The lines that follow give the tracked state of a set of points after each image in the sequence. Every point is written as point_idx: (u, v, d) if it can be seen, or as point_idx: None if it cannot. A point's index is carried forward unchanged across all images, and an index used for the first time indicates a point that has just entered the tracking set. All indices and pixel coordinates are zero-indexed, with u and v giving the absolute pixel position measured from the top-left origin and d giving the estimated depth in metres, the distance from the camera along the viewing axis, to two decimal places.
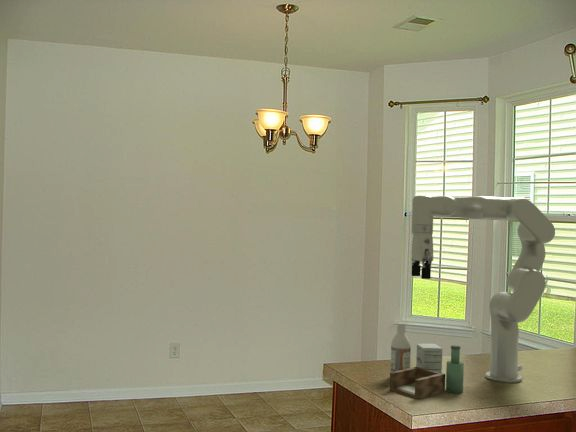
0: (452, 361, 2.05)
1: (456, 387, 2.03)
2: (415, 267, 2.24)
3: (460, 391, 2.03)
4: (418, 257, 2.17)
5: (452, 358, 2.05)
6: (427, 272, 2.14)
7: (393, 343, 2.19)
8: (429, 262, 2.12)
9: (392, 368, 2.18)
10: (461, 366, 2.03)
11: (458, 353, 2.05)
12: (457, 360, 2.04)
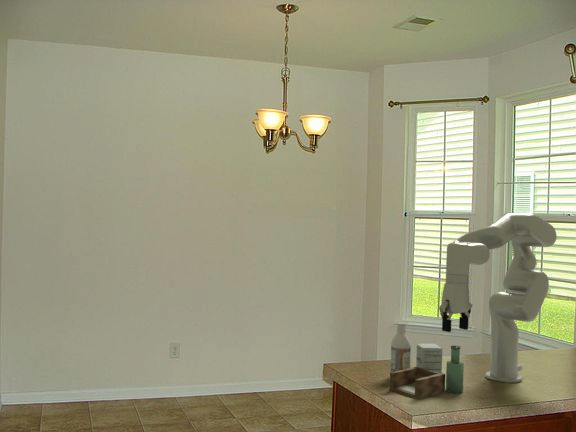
0: (452, 361, 2.05)
1: (456, 387, 2.03)
2: None
3: (460, 391, 2.03)
4: (465, 308, 2.06)
5: (452, 358, 2.05)
6: None
7: (393, 343, 2.19)
8: None
9: (392, 368, 2.18)
10: (461, 366, 2.03)
11: (458, 353, 2.05)
12: (457, 360, 2.04)
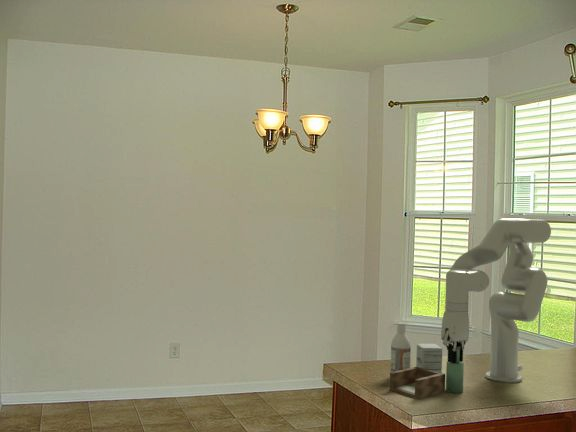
0: None
1: (456, 387, 2.03)
2: None
3: (460, 391, 2.03)
4: (465, 336, 2.06)
5: None
6: None
7: (393, 343, 2.19)
8: None
9: (392, 368, 2.18)
10: (461, 366, 2.03)
11: (458, 353, 2.05)
12: (457, 360, 2.05)
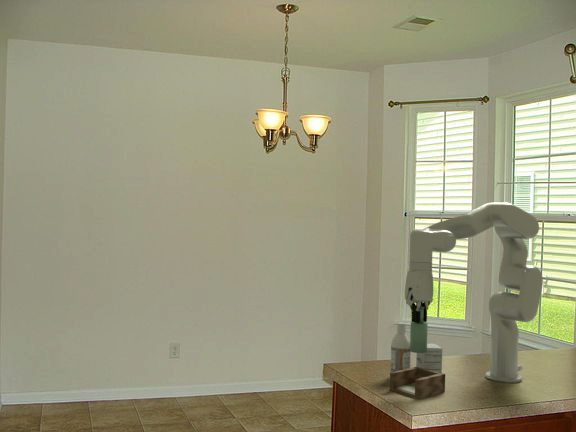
0: None
1: (419, 347, 2.01)
2: None
3: (424, 351, 2.02)
4: (429, 296, 2.04)
5: None
6: None
7: (393, 343, 2.19)
8: None
9: (392, 368, 2.18)
10: (425, 326, 2.02)
11: (422, 313, 2.03)
12: (421, 320, 2.03)
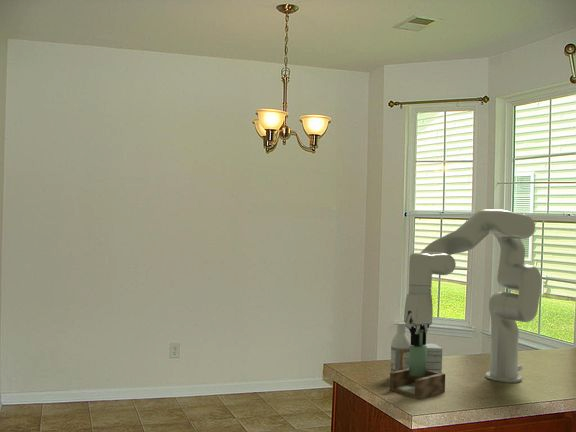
0: None
1: (418, 370, 2.01)
2: None
3: (423, 374, 2.02)
4: (429, 319, 2.04)
5: None
6: None
7: (393, 343, 2.19)
8: None
9: (392, 368, 2.18)
10: (424, 349, 2.02)
11: (421, 336, 2.03)
12: (420, 343, 2.03)
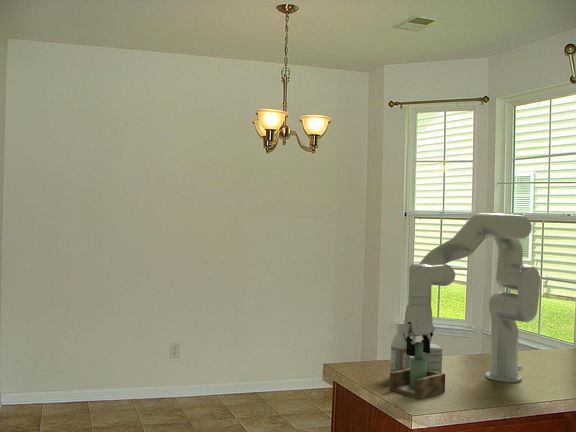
0: (415, 357, 2.03)
1: None
2: None
3: None
4: (428, 330, 2.04)
5: (415, 354, 2.03)
6: None
7: (393, 343, 2.19)
8: None
9: (392, 368, 2.18)
10: (424, 362, 2.02)
11: (421, 349, 2.03)
12: (420, 356, 2.03)
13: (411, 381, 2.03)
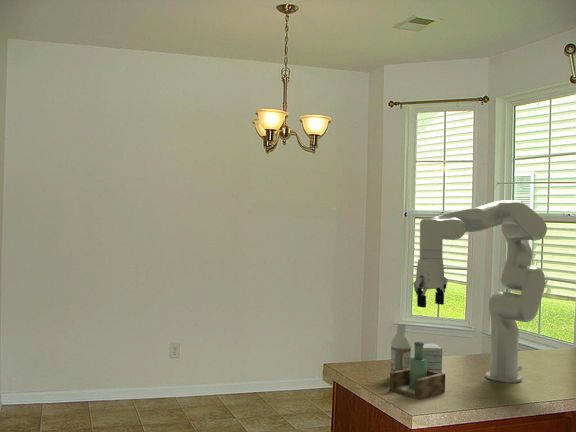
0: (415, 357, 2.03)
1: None
2: None
3: None
4: (440, 283, 2.06)
5: (415, 354, 2.03)
6: None
7: (393, 343, 2.19)
8: None
9: (392, 368, 2.18)
10: (424, 362, 2.02)
11: (421, 349, 2.03)
12: (420, 356, 2.03)
13: (411, 381, 2.03)
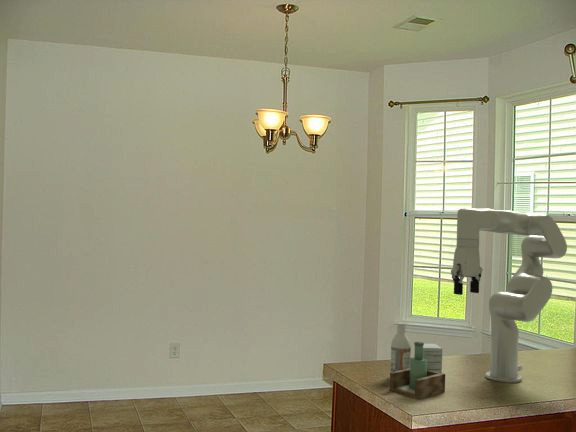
0: (415, 357, 2.03)
1: None
2: None
3: None
4: (476, 272, 2.11)
5: (415, 354, 2.03)
6: None
7: (393, 343, 2.19)
8: None
9: (392, 368, 2.18)
10: (424, 362, 2.02)
11: (421, 349, 2.03)
12: (420, 356, 2.03)
13: (411, 381, 2.03)
